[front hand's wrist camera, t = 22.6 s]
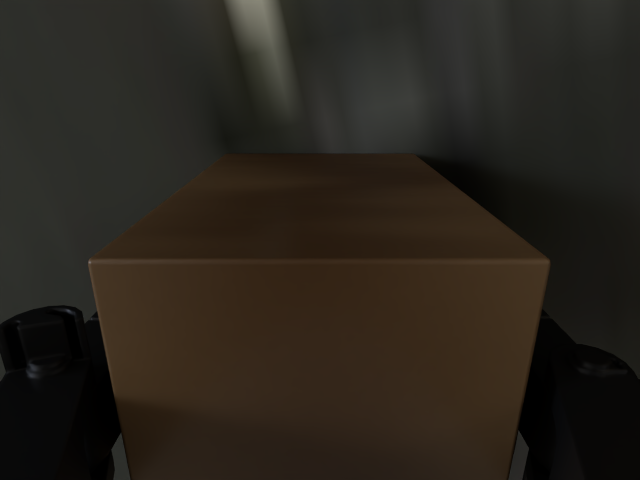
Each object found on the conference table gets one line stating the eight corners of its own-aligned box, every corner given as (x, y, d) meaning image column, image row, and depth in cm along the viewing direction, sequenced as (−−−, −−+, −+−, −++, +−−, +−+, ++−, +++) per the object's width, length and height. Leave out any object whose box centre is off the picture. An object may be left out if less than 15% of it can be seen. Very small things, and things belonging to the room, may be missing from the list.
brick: (414, 153, 14) (554, 259, 6) (401, 330, 16) (487, 594, 8) (224, 153, 14) (84, 259, 6) (237, 330, 16) (151, 593, 8)
